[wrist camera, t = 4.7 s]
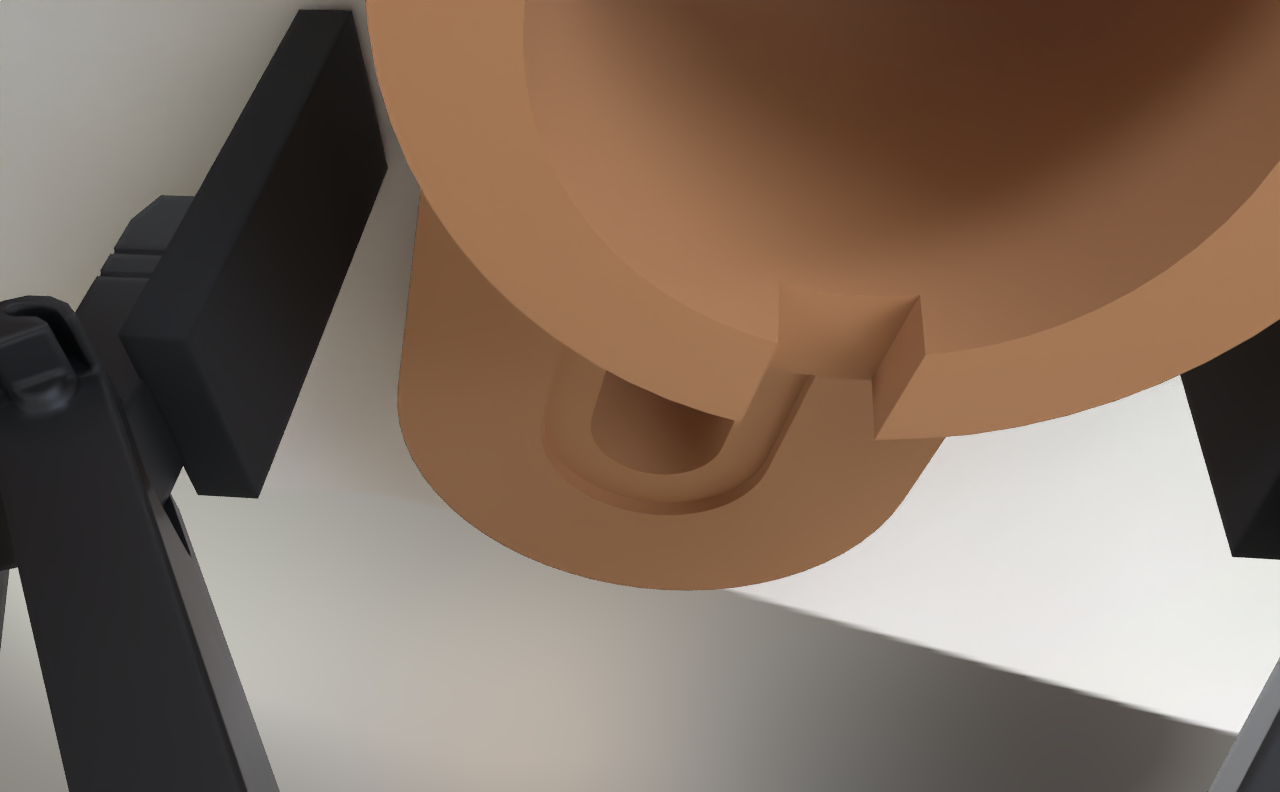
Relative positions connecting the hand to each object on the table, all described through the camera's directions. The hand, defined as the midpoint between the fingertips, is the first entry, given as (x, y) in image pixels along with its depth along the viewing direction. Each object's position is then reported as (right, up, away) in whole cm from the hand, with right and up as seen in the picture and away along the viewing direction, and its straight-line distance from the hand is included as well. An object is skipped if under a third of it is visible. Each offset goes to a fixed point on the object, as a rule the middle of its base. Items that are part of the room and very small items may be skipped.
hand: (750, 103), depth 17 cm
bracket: (0, 0, 0) cm, 0 cm away
